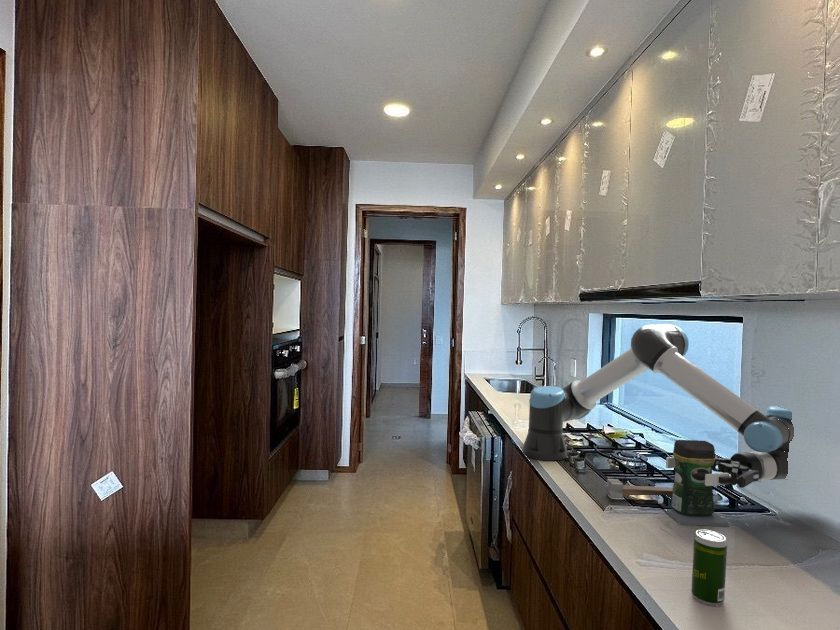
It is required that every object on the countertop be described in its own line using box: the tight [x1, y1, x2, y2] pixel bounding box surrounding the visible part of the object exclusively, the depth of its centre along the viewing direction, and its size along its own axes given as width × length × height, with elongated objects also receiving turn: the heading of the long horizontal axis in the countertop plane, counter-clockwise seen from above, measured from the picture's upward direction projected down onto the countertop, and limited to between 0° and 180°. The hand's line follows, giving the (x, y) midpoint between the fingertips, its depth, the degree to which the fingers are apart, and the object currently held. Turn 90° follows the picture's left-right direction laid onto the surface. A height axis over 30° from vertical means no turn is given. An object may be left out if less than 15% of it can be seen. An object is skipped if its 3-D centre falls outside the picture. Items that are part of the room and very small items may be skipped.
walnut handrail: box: [606, 478, 673, 498], centre depth 149 cm, size 4×24×4 cm, turn 88°
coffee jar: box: [671, 439, 716, 516], centre depth 139 cm, size 10×8×19 cm
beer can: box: [690, 529, 728, 607], centre depth 99 cm, size 5×5×12 cm
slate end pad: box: [666, 509, 730, 527], centre depth 139 cm, size 13×12×1 cm
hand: (685, 471), depth 138 cm, fingers open, 13 cm apart
